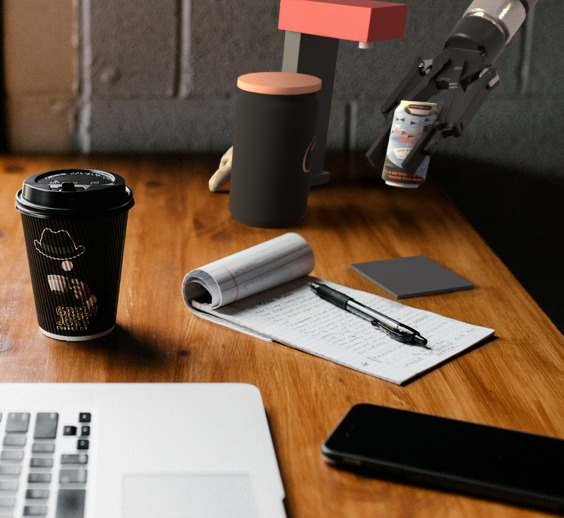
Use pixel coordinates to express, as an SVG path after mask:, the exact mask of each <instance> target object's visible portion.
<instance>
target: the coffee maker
mask: <svg viewBox="0 0 564 518" xmlns="http://www.w3.org/2000/svg"><path fill="white" fill-rule="evenodd" d="M408 9H409V4H408V3H407V4H406V3H398V2H388V1H380V0H280V5H279V13H278V14H279V15H278V25H277V29H278V30H281V31H285V33H284V45H283V54H282V55H283V56H282V65H281V72H288V73H299V74H306V75H311V76H314V77H317V78H319V79H321V82H322V84H321V89H320V90H319V91H318V92H317V94H316V96H317V97H318V99H319V111H318V119H317V128H316V136H315V145H314V153H313V162H312V170H311V178H310V187H309V188H311V187H316V186H320V185H325V184H329V183H330V178H331V177H330V176H331V173H330V172H328V171H325V170H324V166H325V157H326V149H327V141H328V132H329V124H330V117H331V111H332V110H331V109H332V101H333V92H334V86H335V78H336V77H335V76H336V68H337V61H338V54H339V53H338V52H339V44H340V40H344V41H345V40H346V41H352V42H358V48H359V49H363V50H364V49H365V50H366V49H367V50H370V49H373V48H374V43H376V42H383V41H385V42H386V41H394V40H400V39H403V38H404V34H405V27H406V21H407V15H408Z"/></svg>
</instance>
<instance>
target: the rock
mask: <svg viewBox="0 0 564 518" xmlns="http://www.w3.org/2000/svg"><path fill="white" fill-rule="evenodd" d="M232 151H233V145H232V146H231V147H229V149H228V150H227V151H226V153H224V154H223V156H222V157H221V159H220V163H219V166H218V169H217V170H216V171H215V173H214V174H213V175H212V176H211V177H210V179H209V181H208V189H209V191H210V192H212V193H216V192H218V191H219V190H220V189H221V188H222V187H223V186H225V185H226V183H228V182H229V181H230V179H231V165H232Z"/></svg>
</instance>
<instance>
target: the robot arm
mask: <svg viewBox="0 0 564 518" xmlns="http://www.w3.org/2000/svg"><path fill="white" fill-rule="evenodd" d="M538 2H539V0H473V1H472V2H471V3H470V5H469V6H468V7H467V9H466V10H465V11H464V13H462V17H461V18H460V19H459V20H458V22H457V23H456V25H455V26H454V27H453V29H451V32H450V33H449V34H448V36H447V37H446V38H445V39H446V40H445V42H444V46H443V48H442V50H441V51H440V52H438V53H437V54H436V55H434V57H433V58H429V59H424V58H423V57H422V56H421V55H419V56H416V57H415V58H414V60H413V62H412V64H411V66H410V69H409V71H408V72H407V73H406V75H404V77H403V79H402V80H401V81H400V83H399V84H398V85H397V86H396V87H395V88H394V90H393V92H391V94H390V95H389V96H388V98H387V99H386V101H385V102H384V103H383V104H382V105H381V107H380V113H381V114H382V117H383V118H384V119H385V121H384V123H382V125H381V127H380V128H379V129H378V131H377V133H376V134H375V136H374V137H375V141H374V142H373V144H372V145H371V147H369V149H368V150H367V152H366V153H365V157H366V159H367V160H368V162H369V163H370V165H371V167H373V168H377V167H378V165H380V163H381V161H382V160H383V158H384V157H386V154H387V149H388V144H389V139H390V134H391V129H392V124H393V119H394V114H395V110H396V108H397V107H398V106H399V105H400V104H401V101H415V102H425V103H428V101H430V99H431V98H432V97H433V96H435V97H436V96H438V95H439V94H440V93H441V92H442V91H446V90H447V92H446V95H445V98H444V100H443V103H442V106H441V108H440V111H439V116H438V118H437V121H435V122H434V121H433V124H434V126H435V129H433V127H430V128H429V129H428V131H427V132H426V133H425V134H424V135H423V136H422V137H421V138H420V139H419V140H418V141H417V143H416V144H415V145H414V147H413V148H412V150H411V151H410V152H409V154H408V155H407V157H406V158H405V159H404V161H403V162H402V164H401V166H402V167H403V169H404V171H405V173H406V174H407V176H409V177H412V176H413V175H414V173H415V172H416V171H417V169H418V168H419V166H420V165H421V164H422V162H423V161H424V159H425V158H426V156H430V157H431V156H432V155H434V153H435V152H436V151H437V149H438V147H440V145H441V143H442V142H443V141H444V140H445V139H447V138H448V137H454V138H456V139H458V138H461V137H462V135H463V134H464V132H465V131H466V129H467V128H468V126H469V125H470V123H471V122H472V120H473V119H474V117H475V116H476V114H477V112H478V111H479V109H481V107H482V105H483V104H484V102H485V100H486V99H487V98H488V96H489V94H491V92H493V91H494V90H495V89H496V88H497V87H498V86H499V85H500V84H501V80H500V77H499V74H498V71H497V69H496V67H492V66H493V65H494V64H495V62H496V61H497V60H498V59H499V57H500V55H501V54H502V52H503V51H504V50H505V48H506V45H507V44H509V42H510V41H511V40H512V38H513V37H514V36H515V34H516V32H517V31H518V29H519V28H520V27H521V25H522V24H523V23H524V21H525V20H526V18H527V17H528V15H529V14H530V13H531V11H532V10H533V9H534V7H535V6H536V5H537V3H538ZM472 84H473V85H472ZM471 85H472V86H471ZM470 86H471V88H470ZM469 89H470V90H469ZM435 123H436V124H435Z"/></svg>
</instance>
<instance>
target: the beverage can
mask: <svg viewBox="0 0 564 518" xmlns="http://www.w3.org/2000/svg"><path fill="white" fill-rule="evenodd" d="M439 113H440V111H439V109H438V103H433V102H426V103H425V102H415V101H401V104H400V105H399V106H398V107H397V108H396V110H395V114H394V119H393V124H392V129H391V134H390V139H389V144H388V149H387V153H386V154H385V159H384V164H383V169H382V173H381V179H382V180H384V181H385V184H386V185H388V186H392V187H399V188H407V189H417V188H419V186H420V185H423V184H425V182H426V177H427V173H428V169H429V163H430V160H431V156H426V158H425V159H424V161H423V162H422V164H421V165H420V166H419V168H418V169H417V171H416V172H415V173H414V175H413V176H412V177H409V176H407V174H406V173H405V171H404V169H403V167H402V166H401V164H402V162H403V161H404V159H405V158H406V157H407V155H408V154H409V152H410V151H411V150H412V148H413V147H414V145H415V144H416V143H417V141H418V140H419V139H420V138H421V137H422V136H423V135H424V134H425V133H426V132H427V131H428V129H429V128H430V127H433V129H435V126H434V124H433V121H434V122H435V121H437V118H438V116H439ZM435 124H436V123H435Z"/></svg>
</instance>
